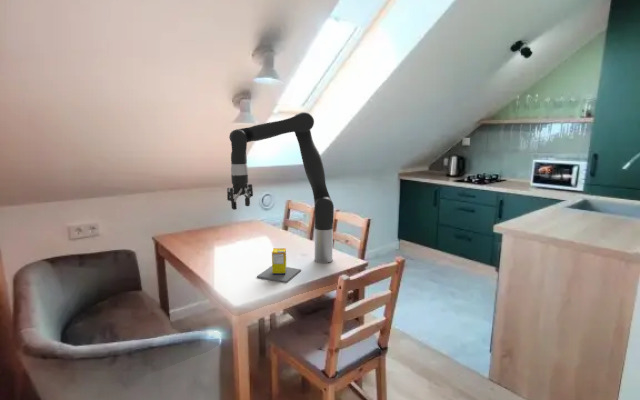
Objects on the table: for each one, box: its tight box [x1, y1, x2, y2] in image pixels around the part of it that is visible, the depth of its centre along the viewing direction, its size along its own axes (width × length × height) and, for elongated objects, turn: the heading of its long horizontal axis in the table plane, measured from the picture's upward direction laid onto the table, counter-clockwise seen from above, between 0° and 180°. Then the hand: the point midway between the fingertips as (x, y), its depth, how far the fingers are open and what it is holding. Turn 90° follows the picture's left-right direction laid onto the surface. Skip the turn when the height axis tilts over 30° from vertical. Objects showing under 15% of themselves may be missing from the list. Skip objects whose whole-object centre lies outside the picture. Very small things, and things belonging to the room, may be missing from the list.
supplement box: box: [271, 247, 287, 275], centre depth 171 cm, size 6×6×11 cm
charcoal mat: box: [256, 265, 302, 284], centre depth 172 cm, size 15×15×1 cm
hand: (241, 207), depth 173 cm, fingers open, 8 cm apart
